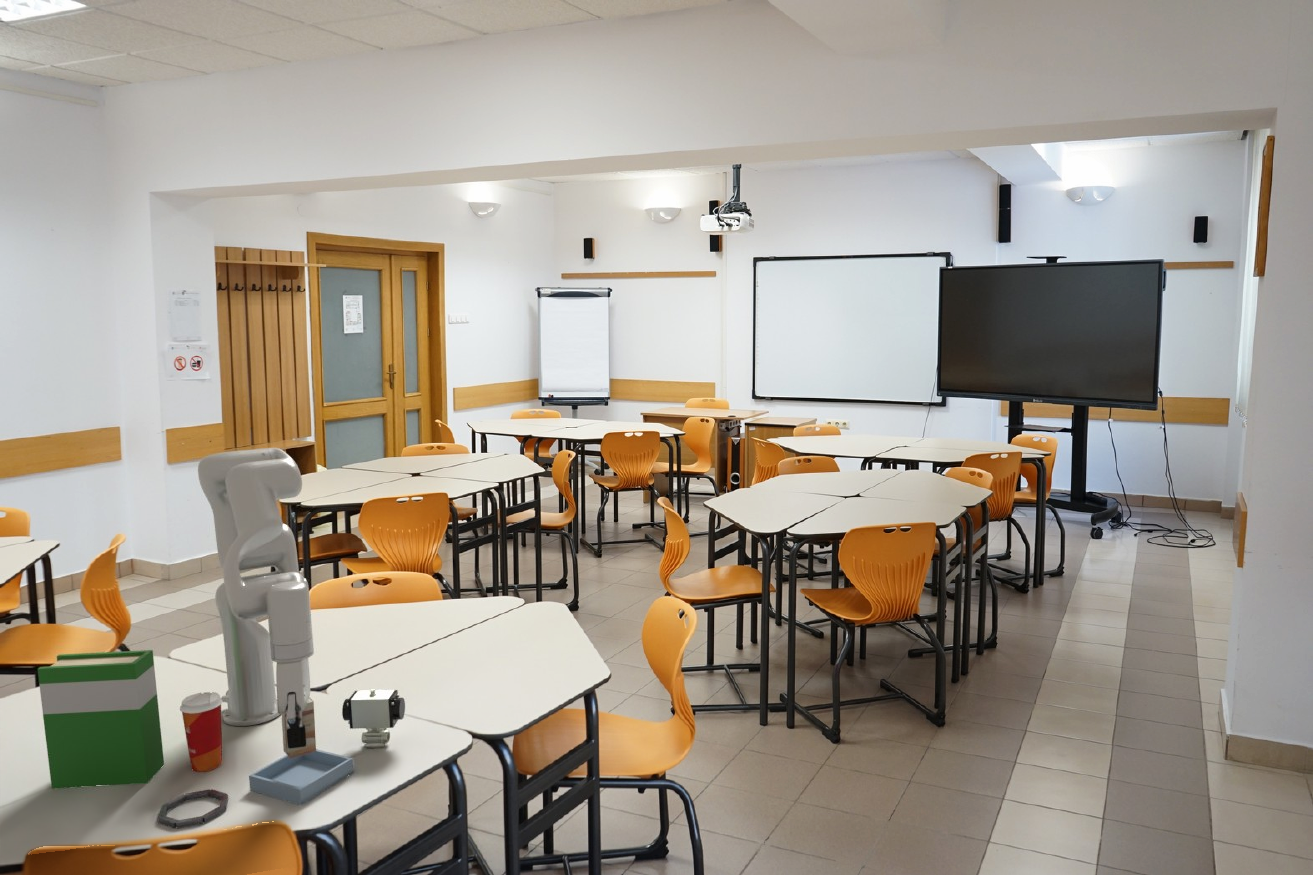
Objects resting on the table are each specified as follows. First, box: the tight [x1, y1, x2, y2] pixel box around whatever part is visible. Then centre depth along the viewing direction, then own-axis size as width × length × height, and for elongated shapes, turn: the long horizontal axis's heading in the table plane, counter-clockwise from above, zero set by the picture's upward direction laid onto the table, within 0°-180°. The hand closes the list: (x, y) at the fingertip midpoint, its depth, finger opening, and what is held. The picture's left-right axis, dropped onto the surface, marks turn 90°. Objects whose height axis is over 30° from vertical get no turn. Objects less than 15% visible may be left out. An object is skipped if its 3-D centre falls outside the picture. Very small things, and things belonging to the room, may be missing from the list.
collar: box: [157, 788, 229, 829], centre depth 171 cm, size 11×11×1 cm
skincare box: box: [281, 697, 317, 758], centre depth 179 cm, size 5×4×10 cm
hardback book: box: [37, 649, 165, 790], centre depth 183 cm, size 18×7×24 cm, turn 94°
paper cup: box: [179, 691, 224, 773], centre depth 187 cm, size 8×8×14 cm
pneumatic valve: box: [341, 688, 406, 749], centre depth 195 cm, size 6×12×12 cm, turn 90°
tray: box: [248, 748, 355, 806], centre depth 181 cm, size 13×13×3 cm
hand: (299, 738), depth 180 cm, fingers closed on skincare box, 5 cm apart
